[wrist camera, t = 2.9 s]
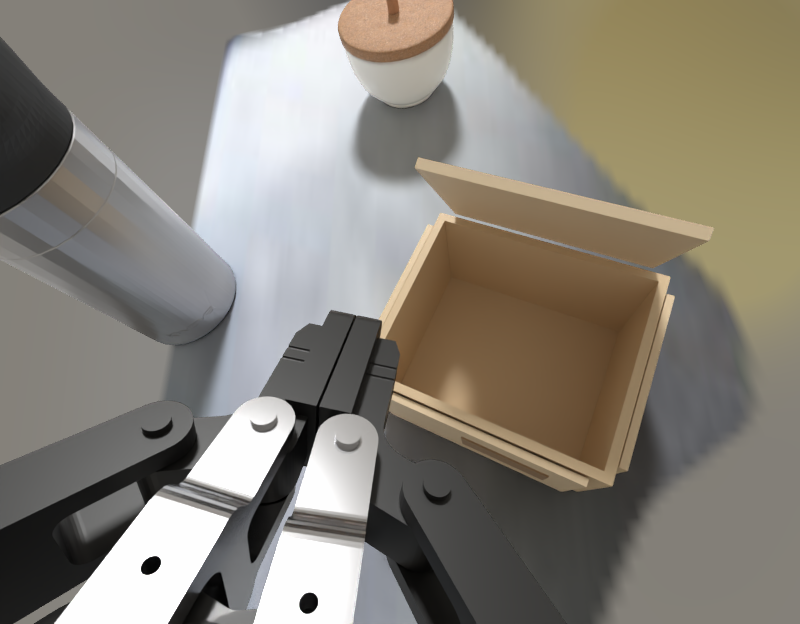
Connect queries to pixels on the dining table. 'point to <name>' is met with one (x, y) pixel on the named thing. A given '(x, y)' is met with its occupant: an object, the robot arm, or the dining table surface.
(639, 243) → the flap
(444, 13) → the lidded jar
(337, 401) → the robot arm
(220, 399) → the dining table surface
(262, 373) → the dining table surface
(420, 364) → the carton
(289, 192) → the dining table surface
